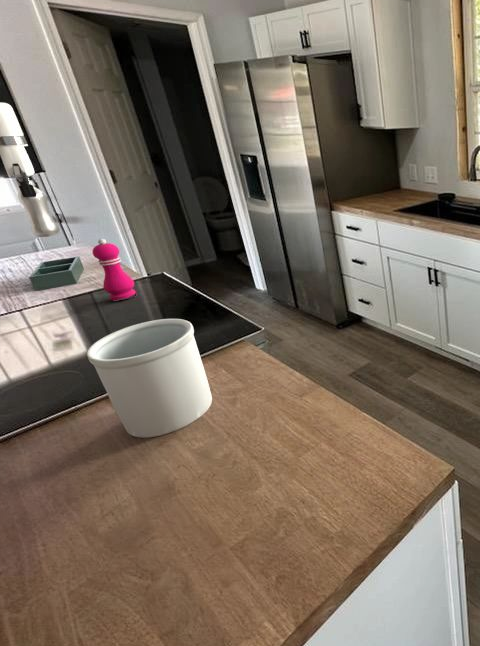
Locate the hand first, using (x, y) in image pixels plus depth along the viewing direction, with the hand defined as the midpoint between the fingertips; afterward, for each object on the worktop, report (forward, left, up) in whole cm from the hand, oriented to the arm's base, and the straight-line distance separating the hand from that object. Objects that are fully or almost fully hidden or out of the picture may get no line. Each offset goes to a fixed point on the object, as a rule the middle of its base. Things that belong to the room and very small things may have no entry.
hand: (32, 194), depth 144 cm
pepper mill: (+18, -43, -30) cm, 56 cm away
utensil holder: (+29, -123, -30) cm, 130 cm away
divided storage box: (-1, -6, -30) cm, 30 cm away
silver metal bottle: (0, 0, -15) cm, 15 cm away
